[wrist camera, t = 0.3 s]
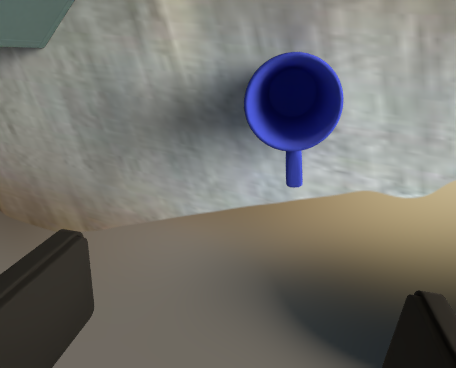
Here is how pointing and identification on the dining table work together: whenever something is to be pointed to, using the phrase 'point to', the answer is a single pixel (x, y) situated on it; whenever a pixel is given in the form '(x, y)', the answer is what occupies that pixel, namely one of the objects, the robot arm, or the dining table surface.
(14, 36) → the cabinet
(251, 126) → the mug
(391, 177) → the dining table surface
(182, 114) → the dining table surface
